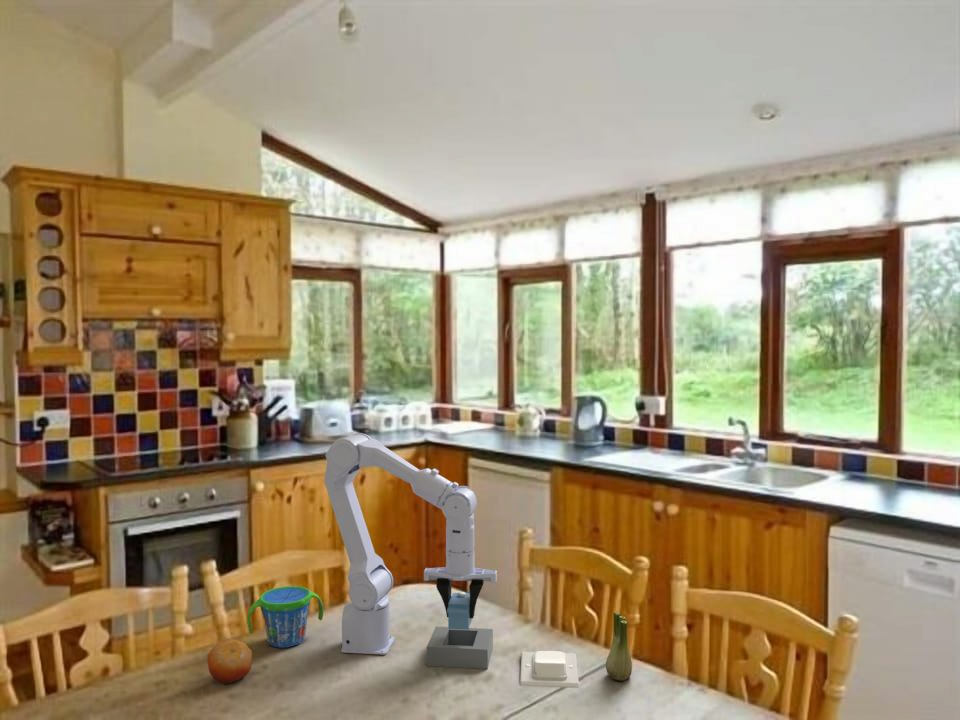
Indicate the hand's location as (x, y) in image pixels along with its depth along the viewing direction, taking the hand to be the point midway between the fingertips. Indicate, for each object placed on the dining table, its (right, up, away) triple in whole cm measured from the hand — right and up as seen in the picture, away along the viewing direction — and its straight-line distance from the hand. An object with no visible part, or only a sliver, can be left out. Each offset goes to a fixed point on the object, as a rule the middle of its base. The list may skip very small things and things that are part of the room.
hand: (460, 616), depth 149 cm
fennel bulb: (+30, -9, -9) cm, 33 cm away
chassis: (0, -8, 0) cm, 8 cm away
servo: (0, -1, 0) cm, 1 cm away
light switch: (+17, -9, -6) cm, 20 cm away
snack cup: (-37, -8, +8) cm, 39 cm away
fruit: (-43, -9, -9) cm, 45 cm away
